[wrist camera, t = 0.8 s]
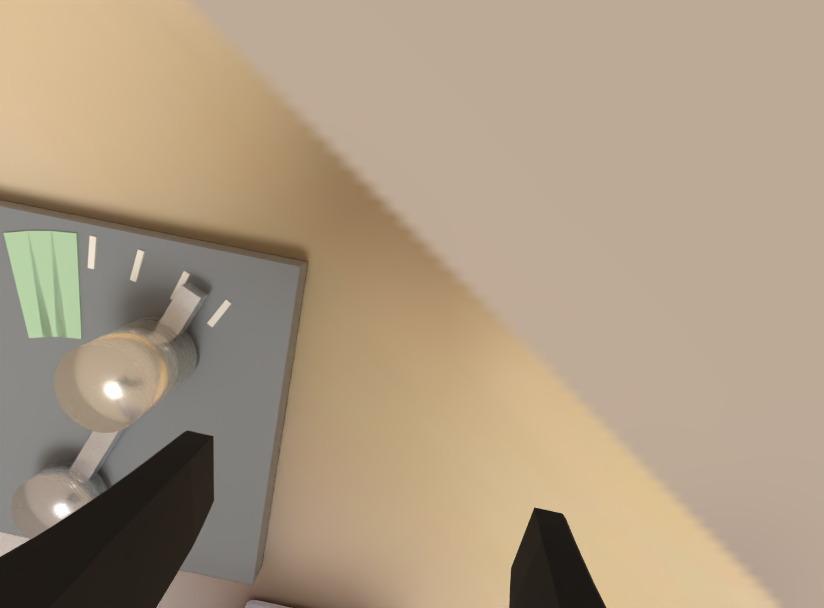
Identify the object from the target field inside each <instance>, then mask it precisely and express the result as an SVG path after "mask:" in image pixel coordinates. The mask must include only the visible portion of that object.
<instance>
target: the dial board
mask: <svg viewBox="0 0 824 608" xmlns="http://www.w3.org/2000/svg"><path fill="white" fill-rule="evenodd" d="M307 266H308V262H306V261H301V260H296V259H291V258H286V257H281V256H276V255H271V254H266V253H261V252H256V251H251V250H246V249H241V248H236V247H231V246H226V245H222V244H217V243H212V242H207V241H202V240H197V239H192V238H187V237H182V236H177V235H172V234H167V233H162V232H157V231H152V230H147V229H142V228H137V227H132V226H127V225H122V224H118V223H113V222H108V221H103V220H98V219H93V218H88V217H83V216H78V215H73V214H68V213H63V212H58V211H53V210H48V209H43V208H38V207H33V206H28V205H23V204H18V203H13V202H9V201H4V200H0V532H3V533H8V534H12V535H17V536H22V537H26V536H25V535H24V534H23V533H22V532H21V531H20V530H19V528H18V527H17V525H16V524H15V522H14V519H13V516H12V512H11V502H12V498H13V495H14V493H15V492H16V490H17V489H18V488H19V487H20V486H21V485H23V484H24V483H25V482H27V481H28V480H29V479H31V478H32V477H34V476H35V475H36V474H38V473H39V472H40V471H42V470H43V469H45V468H46V467H47V466H49V465H50V464H52V463H54V462H57V461H60V460H74V461H75V460H76V458H77V457H78V455H79V453H80V452H81V450H82V448H83V447H84V445H85V443H86V442H87V440H88V438H89V437H90V435H91V434H92V432H93V431H91V430H88V429H86V428H84V427H82V426H80V425H78V424H77V423H76V422H74V421H73V420H72V419H71V418H70V417H69V416H68V415H67V414H66V413H65V412H64V410H63V409H62V407H61V406H60V404H59V402H58V399H57V397H56V393H55V388H54V377H55V372H56V368H57V366H58V364H59V363H60V361H61V360H62V358H63V357H64V356H65V355H66V354H67V353H69V352H70V351H72V350H74V349H75V348H78V347H80V346H82V345H84V344H86V343H89V342H91V341H93V340H95V339H97V338H99V337H102V336H104V335H106V334H108V333H110V332H112V331H115V330H117V329H119V328H121V327H123V326H126V325H128V324H130V323H132V322H134V321H136V320H139V319H141V318H144V317H148V316H161V317H162V316H163V315H164V313H165V311H166V310H167V308H168V306H169V305H170V303H171V302H172V300H173V298H174V297H175V295H176V293H177V292H178V290H179V288H180V287H181V285H183V284H186V283H188V282H190V283H192V284H193V285H195V286H196V287H198V288H199V289H201V290H202V291H204V292H205V293H207V294H208V296H207V298H206V299H205V301H204V302H203V304H202V306H201V307H200V309H199V310H198V312H197V314H196V315H195V317H194V319H193V320H192V322H191V323H190V325H189V327H188V328H187V330H186V331H187V332H188V333H189V335H190V336H191V338H192V340H193V342H194V345H195V348H196V353H197V361H196V367H195V369H194V372H193V374H192V375H191V377H190V378H189V379H188V380H187V381H186V382H185V383H184V384H182V385H181V386H180V387H179V388H177V389H176V390H175V391H174V392H172V393H171V394H170V395H168V396H167V397H166V398H165V399H163V400H162V401H161V402H159V403H158V404H157V405H156V406H154V407H153V408H152V409H150V410H149V411H148V412H147V413H145V414H144V415H143V416H141V417H140V418H139V419H138V420H136V421H135V422H134V423H133V424H131V425H130V426H128V427H127V428H125V429H124V431H123V433H122V434H121V436H120V438H119V439H118V441H117V442H116V444H115V446H114V447H113V449H112V450H111V452H110V454H109V455H108V457H107V458H106V460H105V462H104V463H103V465H102V466H101V468H100V470H99V471H98V474H99V475H100V477H101V478H102V479H103V481H104V483H105V485H106V488H107V489H108V488H110V487H111V486H112V485H114V484H115V483H117V482H118V481H119V480H121V479H122V478H124V477H125V476H126V475H128V474H129V473H130V472H132V471H133V470H134V469H136V468H137V467H139V466H140V465H141V464H143V463H144V462H145V461H147V460H148V459H149V458H150V457H152V456H153V455H154V454H156V453H157V452H158V451H160V450H161V449H162V448H164V447H165V446H166V445H167V444H169V443H170V442H171V441H173V440H174V439H175V438H177V437H178V436H179V435H181V434H182V433H183V432H185V431H187V430H188V431H193V432H197V433H202V434H206V435H211V436H213V439H214V502H213V504H212V507H211V509H210V511H209V513H208V516H207V518H206V520H205V522H204V525H203V527H202V529H201V531H200V533H199V535H198V537H197V539H196V541H195V544H194V545H193V547H192V549H191V551H190V552H189V554H188V556H187V557H186V559H185V561H184V562H183V564H182V566H181V567H180V569H179V570H182V571H187V572H192V573H197V574H201V575H206V576H211V577H215V578H220V579H225V580H230V581H234V582H239V583H244V584H248V585H253V583H254V581H255V579H256V577H257V575H258V573H259V571H260V569H261V567H262V561H263V555H264V548H265V542H266V535H267V529H268V522H269V515H270V509H271V502H272V496H273V489H274V483H275V476H276V469H277V463H278V456H279V450H280V443H281V437H282V430H283V423H284V417H285V410H286V404H287V397H288V391H289V384H290V377H291V371H292V364H293V358H294V351H295V345H296V338H297V331H298V325H299V318H300V312H301V305H302V298H303V292H304V285H305V279H306V272H307ZM26 538H27V537H26Z"/></svg>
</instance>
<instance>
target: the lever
mask: <svg viewBox="0 0 824 608" xmlns="http://www.w3.org/2000/svg"><path fill="white" fill-rule="evenodd" d="M207 296H208V294H207V293H205V292H204V291H202V290H201V289H199V288H198V287H196V286H195V285H193V284H192V283H190V282H188V283H186V284H183V285H181V287H180V288H179V290H178V292H177V293H176V295H175V297H174V298H173V300H172V302H171V303H170V305H169V306H168V308H167V310H166V311H165V313H164V315H163V316H162V317H161V316H148V317H144V318H141V319H139V320H136V321H134V322H132V323H130V324H128V325H126V326H123V327H121V328H119V329H117V330H115V331H112V332H110V333H108V334H106V335H104V336H102V337H99V338H97V339H95V340H93V341H91V342H89V343H86V344H84V345H82V346H80V347H78V348H75V349H74V350H72V351H70V352H69V353H67V354H66V355H65V356H64V357H63V358H62V360H61V361H60V363H59V364H58V366H57V368H56V372H55V377H54V388H55V393H56V397H57V399H58V402H59V404H60V406H61V407H62V409H63V410H64V412H65V413H66V414H67V415H68V416H69V417H70V418H71V419H72V420H73V421H74V422H76V423H77V424H78V425H80V426H82V427H84V428H86V429H88V430H91V431H93V432H92V434H91V435H90V437H89V438H88V440H87V442H86V443H85V445H84V447H83V448H82V450H81V452H80V453H79V455H78V457H77V458H76V460H75V461H74V460H60V461H57V462H54V463H52V464H50V465H49V466H47V467H46V468H45V469H43V470H42V471H40V472H39V473H38V474H36V475H35V476H34V477H32V478H31V479H29V480H28V481H27V482H25V483H24V484H23V485H21V486H20V487H19V488H18V489H17V490H16V492H15V493H14V495H13V498H12V502H11V512H12V516H13V519H14V522H15V524H16V525H17V527H18V528H19V530H20V531H21V532H22V533H23V534H24V535H25V536H26V537H27V538H29V539H32V538H34V537H35V536H37V535H39V534H40V533H42V532H44V531H45V530H47V529H48V528H50V527H52V526H53V525H55V524H56V523H58V522H59V521H61V520H62V519H64V518H65V517H67V516H68V515H70V514H72V513H73V512H75V511H76V510H78V509H79V508H81V507H82V506H84V505H85V504H87V503H88V502H90V501H91V500H93V499H94V498H96V497H97V496H98V495H100V494H101V493H103V492H104V491H105V490H107V488H106V485H105V483H104V481H103V479H102V478H101V477H100V475H99V474H98V471H99V470H100V468H101V466H102V465H103V463H104V462H105V460H106V458H107V457H108V455H109V454H110V452H111V450H112V449H113V447H114V446H115V444H116V442H117V441H118V439H119V438H120V436H121V434H122V433H123V431H124V429H125V428H127V427H128V426H130V425H131V424H133V423H134V422H135V421H136V420H138V419H139V418H140V417H141V416H143V415H144V414H145V413H147V412H148V411H149V410H150V409H152V408H153V407H154V406H156V405H157V404H158V403H159V402H161V401H162V400H163V399H165V398H166V397H167V396H168V395H170V394H171V393H172V392H174V391H175V390H176V389H177V388H179V387H180V386H181V385H182V384H184V383H185V382H186V381H187V380H188V379H189V378H190V377H191V375H192V374H193V372H194V369H195V367H196V361H197V353H196V348H195V345H194V342H193V340H192V338H191V336H190V335H189V333H188V332H187V331H186V330H187V328H188V327H189V325H190V323H191V322H192V320H193V319H194V317H195V315H196V314H197V312H198V310H199V309H200V307H201V306H202V304H203V302H204V301H205V299H206V298H207Z"/></svg>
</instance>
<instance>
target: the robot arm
mask: <svg viewBox="0 0 824 608" xmlns="http://www.w3.org/2000/svg"><path fill="white" fill-rule="evenodd" d="M213 502H214V439H213V436H211V435H206V434H202V433H197V432H193V431H188V430H187V431H185V432H183V433H182V434H181V435H179V436H178V437H177V438H175V439H174V440H173V441H171V442H170V443H169V444H167V445H166V446H165V447H164V448H162V449H161V450H160V451H158V452H157V453H156V454H154V455H153V456H152V457H150V458H149V459H148V460H147V461H145V462H144V463H143V464H141V465H140V466H139V467H137V468H136V469H134V470H133V471H132V472H130V473H129V474H128V475H126V476H125V477H124V478H122V479H121V480H119V481H118V482H117V483H115V484H114V485H112V486H111V487H110V488H108V489H107V490H105V491H104V492H103V493H101V494H100V495H98V496H97V497H96V498H94V499H93V500H91V501H90V502H88V503H87V504H85V505H84V506H82V507H81V508H79V509H78V510H76V511H75V512H73V513H72V514H70V515H68V516H67V517H65V518H64V519H62V520H61V521H59V522H58V523H56V524H55V525H53V526H52V527H50V528H48V529H47V530H45V531H44V532H42V533H40V534H39V535H37V536H35V537H34V538H32V539H30V540H29V541H27V542H25V543H24V544H22V545H20V546H19V547H17V548H15V549H13V550H12V551H10V552H8V553H6V554H5V555H3V556H1V557H0V608H156V607H157V605H158V604H159V602H160V600H161V599H162V597H163V595H164V594H165V592H166V591H167V589H168V587H169V586H170V584H171V582H172V581H173V579H174V577H175V576H176V574H177V572H178V571H179V569H180V567H181V566H182V564H183V562H184V561H185V559H186V557H187V556H188V554H189V552H190V551H191V549H192V547H193V545H194V544H195V541H196V539H197V537H198V535H199V533H200V531H201V529H202V527H203V525H204V522H205V520H206V518H207V516H208V513H209V511H210V509H211V507H212V504H213ZM245 608H291V607H286V606H282V605H277V604H272V603H267V602H263V601H258V600H250V601H248V602H247V603H246V606H245ZM509 608H606V606H605V604H604V602H603V600H602V598H601V596H600V594H599V592H598V590H597V588H596V586H595V584H594V582H593V580H592V578H591V575H590V573H589V571H588V569H587V567H586V564H585V562H584V560H583V558H582V556H581V553H580V551H579V549H578V546H577V544H576V542H575V540H574V537H573V535H572V532H571V530H570V528H569V525H568V523H567V520H566V518H565V517H564V515H563V514H561V513H557V512H552V511H548V510H543V509H539V508H534V510H533V513H532V516H531V518H530V521H529V523H528V526H527V528H526V531H525V534H524V536H523V539H522V541H521V544H520V547H519V549H518V552H517V554H516V557H515V560H514V562H513V565H512V567H511V581H510V605H509Z"/></svg>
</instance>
